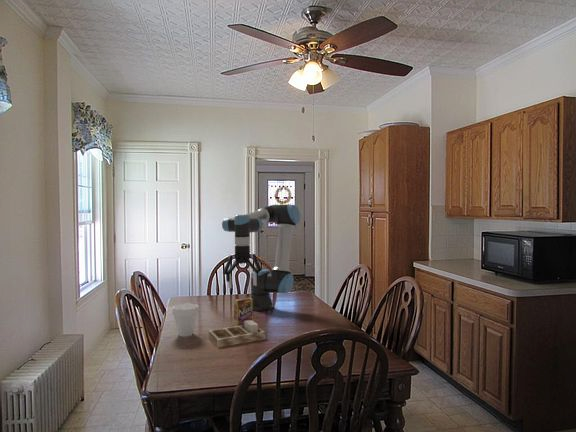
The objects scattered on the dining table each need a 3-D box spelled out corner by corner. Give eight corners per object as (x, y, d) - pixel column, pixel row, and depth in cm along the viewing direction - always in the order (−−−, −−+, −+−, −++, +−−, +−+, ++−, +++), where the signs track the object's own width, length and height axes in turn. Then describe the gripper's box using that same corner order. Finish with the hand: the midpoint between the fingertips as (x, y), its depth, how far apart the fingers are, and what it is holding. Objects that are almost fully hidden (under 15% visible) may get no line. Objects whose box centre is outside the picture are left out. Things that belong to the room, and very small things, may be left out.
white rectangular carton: (251, 332, 189) (251, 319, 188) (257, 336, 181) (257, 324, 181) (244, 333, 187) (244, 320, 187) (250, 338, 180) (250, 325, 180)
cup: (185, 340, 181) (184, 311, 181) (167, 335, 188) (167, 307, 187) (204, 332, 192) (203, 305, 191) (186, 328, 198) (186, 302, 198)
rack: (253, 331, 193) (252, 323, 193) (266, 341, 179) (266, 332, 179) (207, 339, 183) (207, 330, 182) (218, 350, 168) (218, 340, 168)
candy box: (237, 331, 194) (236, 300, 194) (233, 328, 198) (233, 299, 197) (252, 327, 199) (252, 298, 199) (249, 325, 203) (248, 296, 202)
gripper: (261, 243, 206) (262, 283, 207) (216, 245, 195) (216, 287, 195) (267, 244, 200) (267, 285, 200) (220, 247, 188) (221, 290, 189)
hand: (242, 286), depth 198 cm, fingers open, 13 cm apart
